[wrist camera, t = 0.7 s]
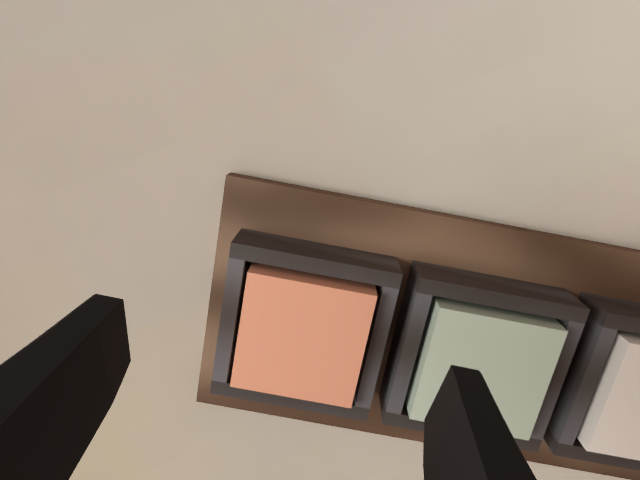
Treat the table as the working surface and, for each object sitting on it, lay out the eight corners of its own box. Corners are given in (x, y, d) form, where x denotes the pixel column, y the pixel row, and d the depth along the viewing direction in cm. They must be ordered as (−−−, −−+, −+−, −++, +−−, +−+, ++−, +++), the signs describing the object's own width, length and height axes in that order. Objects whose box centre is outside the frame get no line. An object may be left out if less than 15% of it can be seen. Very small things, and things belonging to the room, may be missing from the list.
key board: (664, 475, 31) (707, 525, 28) (200, 391, 31) (182, 431, 27) (758, 272, 27) (823, 299, 24) (230, 172, 27) (213, 183, 23)
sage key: (515, 416, 27) (528, 440, 26) (404, 396, 27) (409, 419, 25) (550, 314, 26) (568, 331, 24) (432, 292, 26) (440, 307, 24)
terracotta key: (350, 387, 27) (351, 408, 25) (237, 366, 27) (229, 386, 25) (374, 281, 26) (377, 296, 24) (254, 259, 25) (247, 272, 23)
